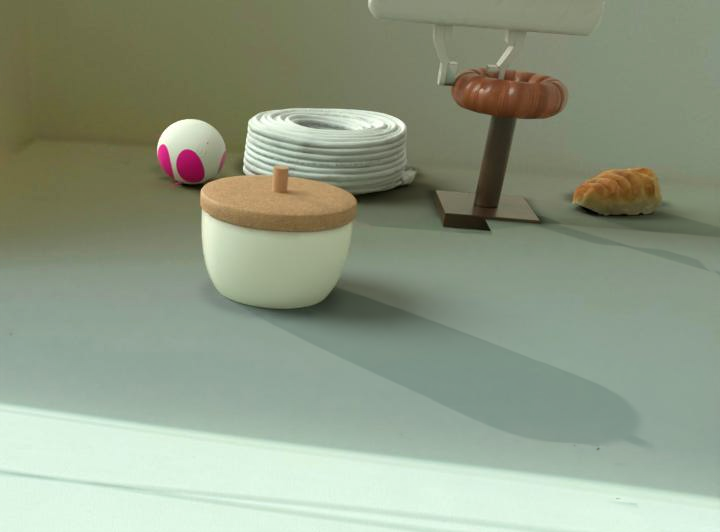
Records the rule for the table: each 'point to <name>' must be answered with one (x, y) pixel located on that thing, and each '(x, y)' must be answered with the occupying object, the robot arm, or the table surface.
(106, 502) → the table surface
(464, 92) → the ring
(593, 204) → the pastry
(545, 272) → the table surface
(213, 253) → the trinket box
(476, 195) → the stand
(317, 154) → the cable
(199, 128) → the stress ball
